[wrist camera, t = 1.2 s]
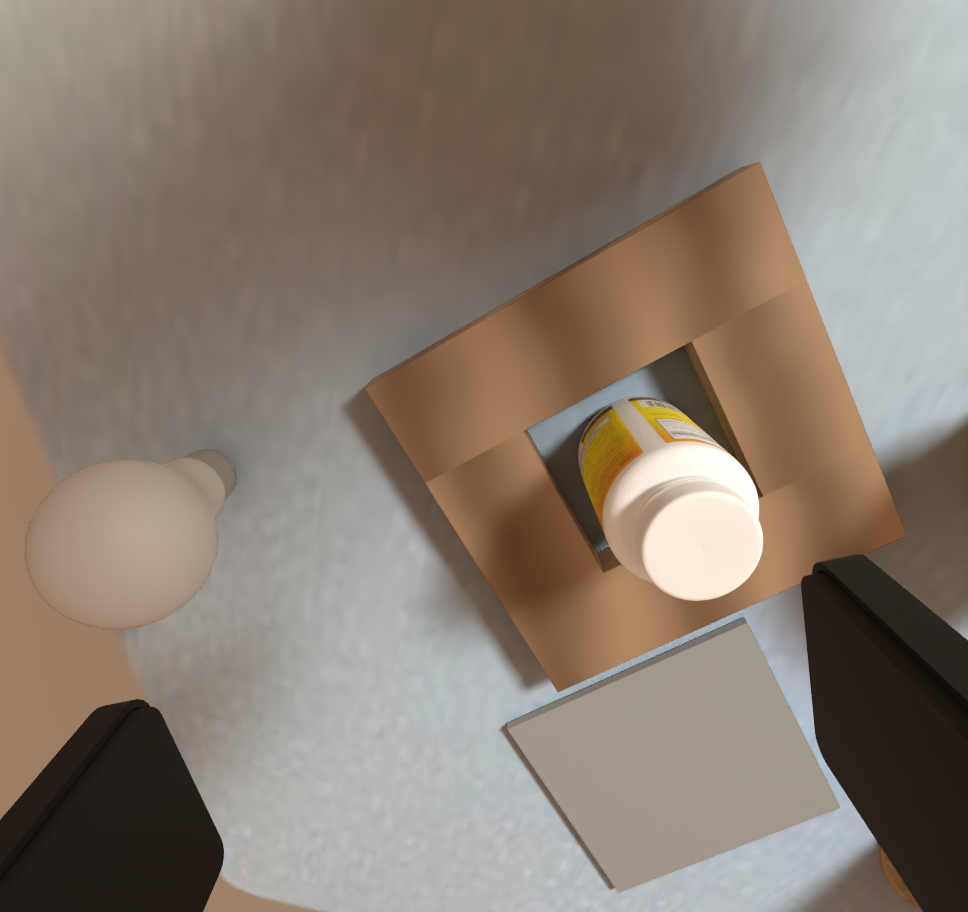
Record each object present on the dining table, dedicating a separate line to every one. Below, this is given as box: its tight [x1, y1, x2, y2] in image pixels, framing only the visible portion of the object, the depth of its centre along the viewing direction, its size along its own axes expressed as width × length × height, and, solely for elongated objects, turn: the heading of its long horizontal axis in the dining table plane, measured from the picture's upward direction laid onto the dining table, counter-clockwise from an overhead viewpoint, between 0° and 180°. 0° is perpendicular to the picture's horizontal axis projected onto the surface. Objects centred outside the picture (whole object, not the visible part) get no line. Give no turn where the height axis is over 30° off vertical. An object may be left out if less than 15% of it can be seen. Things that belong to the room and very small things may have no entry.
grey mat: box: [507, 617, 840, 893], centre depth 36 cm, size 14×14×1 cm
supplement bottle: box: [578, 396, 763, 601], centre depth 25 cm, size 6×6×10 cm
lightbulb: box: [25, 450, 236, 629], centre depth 26 cm, size 6×6×11 cm
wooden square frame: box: [365, 162, 907, 692], centre depth 29 cm, size 18×18×2 cm
